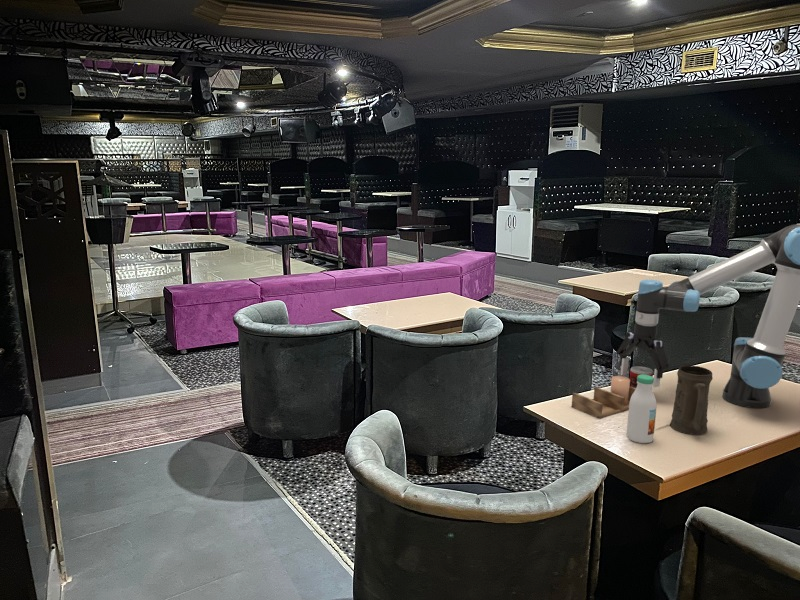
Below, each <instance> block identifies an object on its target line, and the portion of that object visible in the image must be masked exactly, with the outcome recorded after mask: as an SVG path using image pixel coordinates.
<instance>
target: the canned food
mask: <svg viewBox="0 0 800 600" xmlns="http://www.w3.org/2000/svg"><path fill="white" fill-rule="evenodd" d="M629 369H630V371H629V377H628V378H629V379H630V386H631V387H634V388H636V387H637V384H638V383H637V377H638V375H649V376H652V377H653V378H654V371H653V370H654V369H651V368H649V367H647V366H639V365H638V366H631V368H629Z"/></svg>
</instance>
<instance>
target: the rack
mask: <svg viewBox="0 0 800 600" xmlns="http://www.w3.org/2000/svg"><path fill="white" fill-rule="evenodd" d="M593 390H594V391H593V398H589V397H587V396H584V395H581V394H579V393H577V392H572V397H571V408H573V409H575V410H578V411H579V412H582V413H585V414H587V415H589V416H592V417H594V418H596V419H599V420H600V419H604V418H607V417H612V416H614V415H615V416H616V415H618V414H621V413H624V412H629V404H630V399H631V396H632V394H633V393H634V391H635V390H636V388H634V387H631V386H629V397H628V405H627V406H624V402H625V398H624V397H622V396H619V395H616V394H614V393H611V391H608V390H605V389H602V388H600V387H597V386H595V387H594V389H593Z"/></svg>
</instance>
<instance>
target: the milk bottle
mask: <svg viewBox="0 0 800 600" xmlns="http://www.w3.org/2000/svg"><path fill="white" fill-rule="evenodd" d="M653 382H654V376H653V377H652V376H649V375H638V377H637V383H638V384H637V387H636V390H635V391H634V393H633V394H632V396H631V399H630V404H629V410H628V411H627V412H628V413H627V414H628V415H627V423H626V424H627V425H626V438H627V439H628V440H630V441H632V442H635V443H639V444H649V443H652V442H653V441H654V436H655V428H656V427H655V426H656V417H657V416H656V415H657V400H656V396H655V394H654V391H653Z"/></svg>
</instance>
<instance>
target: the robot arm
mask: <svg viewBox="0 0 800 600" xmlns="http://www.w3.org/2000/svg"><path fill="white" fill-rule="evenodd" d="M771 264H774V265H775V266H776V269H777V271H776V274H775V278H774V279H773V282H772V286H771V287H770V291H769V293H768V296H767V299H766V302H765V305H764V308H763V310H762V313H761V316H760V319H759V322H758V324H757V327H756V330H755V333H754V335H753V337H742V336H741V337H737V338H736V339H735V341H734V344H733V355H732V361H731V362H732V363H731V369H730V377H729V379H728V380H727V383H726V384H725V387H724V388H723V389H722V396H721V397H722V398H723V399H724V400H725V401H726V402H728V403H731V404H733V405H737V406H741V407H745V408H756V409H763V408H764V409H765V408H768V407H770V406H771V405H772V404H771V403H772V395H771V392H770V388H772V387H774V386H775V385H778V383H779V382H780V380H781V379H782V376H783V367H782V365H783V363H784V359H785V356H786V354H787V352H786V350H785V347H784V343H785V342H786V341H785V340H786V338H787V337H788V333H789V331H790V328H791V324H792V321H793V319H794V317H795V314H796V311H797V308H798V306H799V303H800V224H799V223H796V224H791V225H789V226H785V227H784V228H782V229H780V230H778V231H776V232H774V233H772V234H770V235H768V236H767V237H765V238H763V239H761V241H760V243H759V244H757V245H755V246H753V247H751V248H749V249H746V250H743V251H742V252H740V253H738V254H737V253H736V255H733V256H731V257H729V258H726V259H724V260H723V261H720V262H719V263H716V264H713V265H712V266H710V267H707V268H705V269H702V270H701V271H699V272H697V273H694V274H692V275H690V276H688V277H686V278H684V279H682V280H678V281H677V280H676V281H674V282H672V283H670V284H669V286H668V287H665V286H664V285H663V282H662V281H660V280H656V279H642V280H641V281H640V282H639V284H638V292H637V299H636V308H635V309H636V310H635V320H634V321H635V323H634V327H633V331H630V332H626V334H625V338H624V339H623V341H622V342H621V344H620V346H619V347H618V349H617V350H616V355H617V356H619V357H620V360H619V361H620V363H619V365H620V367H621V368H620V376H626V375H628V370H629V359H630V358H629V357H628V356H629V355H630V354H631V353H632V352H633V351H635V350H636V349H638V350H639V349H641V350H642V351H646V352H647V353H648V354H649V356H650V358H651V360H652V362H653V363H654V366H655V367H656V368H654V371H653V378H654V382H653V385H652V388H657V387H660V382H661V379H662V378H663V375H664V370H668V369H669V368H670V365H669V361H668V357H667V355H666V354H667V353H666V350H665V345H664V343H665V341H663V340H656V336H657V334H658V333H657V332H658V325H657V324H658V323H659V317H660V309H662V310H670V311H671V310H672V311H680V312H686V313H687V312H690V313H691V312H692V313H694V312H697V311H698V309H699V306H700V298H701V297H700V296H701V295H703V294H705V293H708V292H710V291H713V290H714V289H716V288H719V287H721V286H724V285H726V284H728V283H730V282H732V281H734V280H737V279H739V278H741V277H744V276H746V275H747V274H750V273H752V272H755V271H757V270H759V269H762V268H764V267H766V266H768V265H771ZM632 340H633V342H632ZM631 342H632V343H631ZM630 343H631V344H630ZM629 344H630V346H629ZM628 346H629V347H628Z"/></svg>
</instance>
